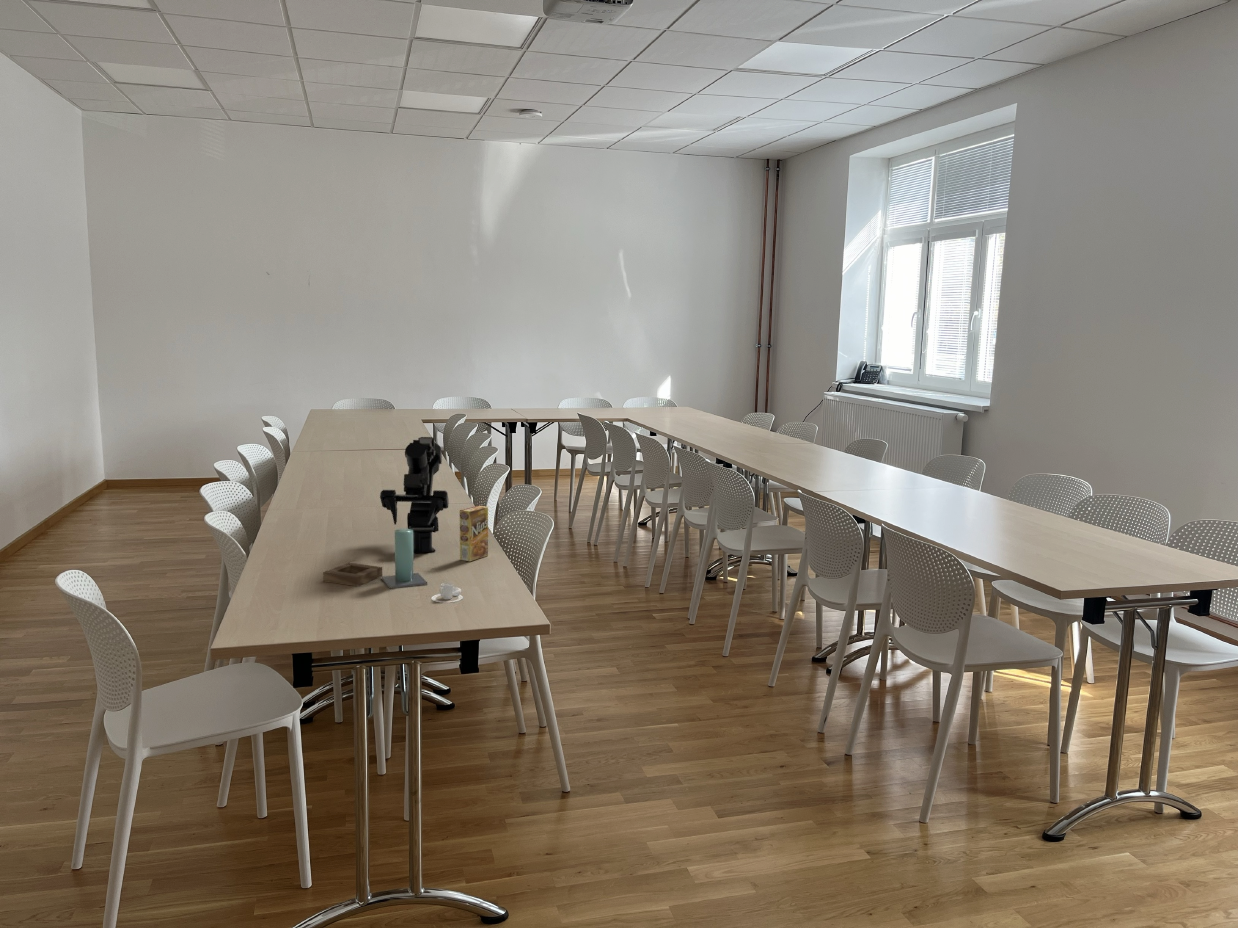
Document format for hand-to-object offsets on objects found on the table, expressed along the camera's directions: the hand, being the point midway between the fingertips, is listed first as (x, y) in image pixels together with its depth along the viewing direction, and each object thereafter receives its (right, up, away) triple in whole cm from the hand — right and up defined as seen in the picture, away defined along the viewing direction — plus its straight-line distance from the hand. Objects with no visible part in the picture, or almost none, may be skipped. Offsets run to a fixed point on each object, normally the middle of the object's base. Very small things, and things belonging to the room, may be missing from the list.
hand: (411, 523), depth 243 cm
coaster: (0, -15, -9) cm, 17 cm away
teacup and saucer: (+17, -18, -21) cm, 33 cm away
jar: (0, -14, -9) cm, 17 cm away
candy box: (+15, -12, +18) cm, 26 cm away
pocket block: (-14, -14, -7) cm, 21 cm away
